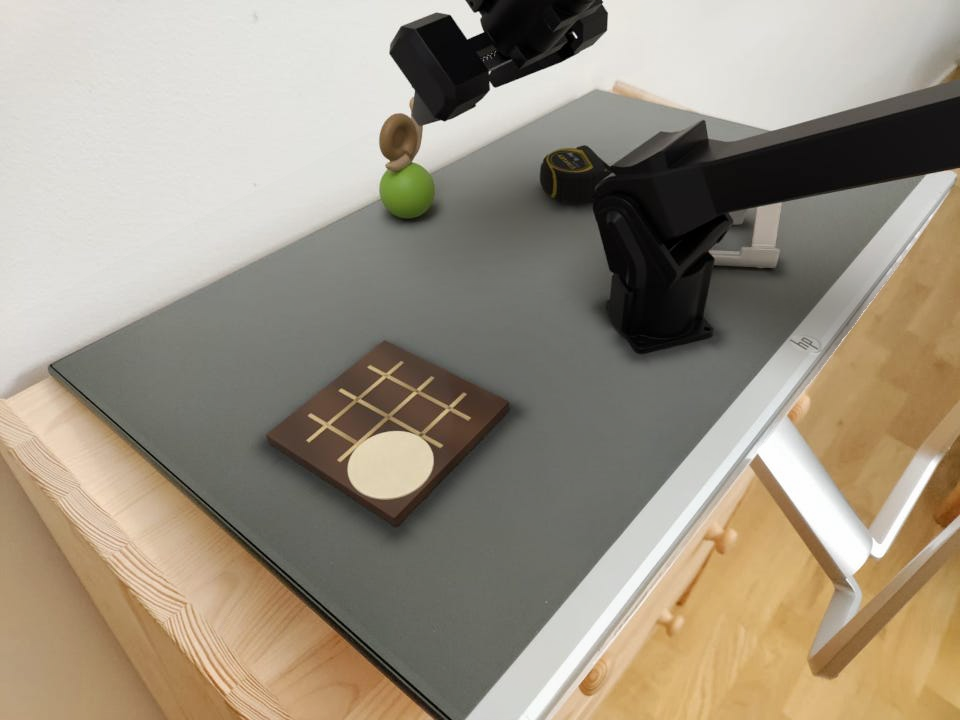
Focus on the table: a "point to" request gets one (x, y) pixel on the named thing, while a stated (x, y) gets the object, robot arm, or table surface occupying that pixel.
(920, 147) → the robot arm
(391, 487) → the cream round disc
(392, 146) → the snail figurine
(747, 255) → the tablet stand
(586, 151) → the tape measure
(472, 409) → the game board
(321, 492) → the table surface
